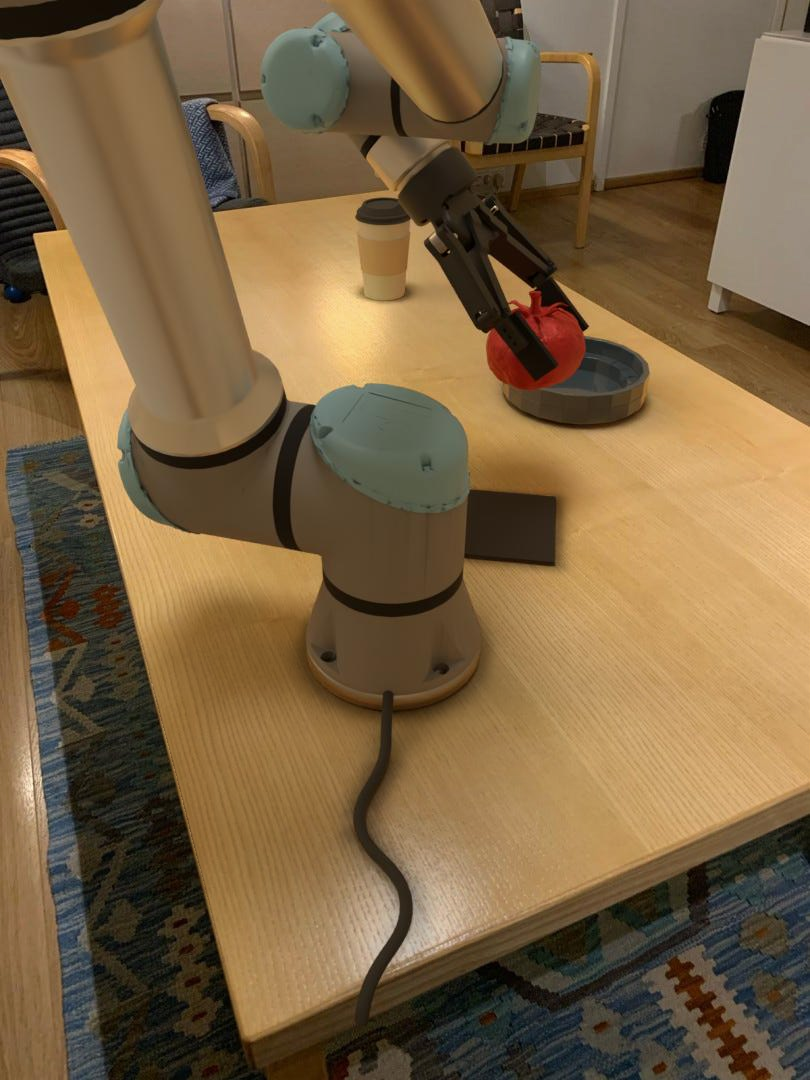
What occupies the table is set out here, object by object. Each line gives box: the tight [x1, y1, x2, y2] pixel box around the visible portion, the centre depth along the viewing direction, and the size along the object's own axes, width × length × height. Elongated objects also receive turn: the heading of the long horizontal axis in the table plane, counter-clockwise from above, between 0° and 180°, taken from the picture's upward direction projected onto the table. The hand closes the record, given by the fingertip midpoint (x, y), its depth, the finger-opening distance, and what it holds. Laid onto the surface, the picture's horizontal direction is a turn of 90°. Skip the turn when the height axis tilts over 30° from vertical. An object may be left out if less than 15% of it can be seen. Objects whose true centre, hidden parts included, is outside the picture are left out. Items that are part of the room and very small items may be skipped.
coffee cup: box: [354, 196, 412, 301], centre depth 142 cm, size 9×9×15 cm
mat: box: [464, 488, 557, 566], centre depth 92 cm, size 12×12×1 cm
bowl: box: [502, 335, 651, 425], centre depth 116 cm, size 19×19×4 cm
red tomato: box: [485, 290, 586, 390], centre depth 88 cm, size 10×10×9 cm
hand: (563, 353), depth 88 cm, fingers closed on red tomato, 10 cm apart
